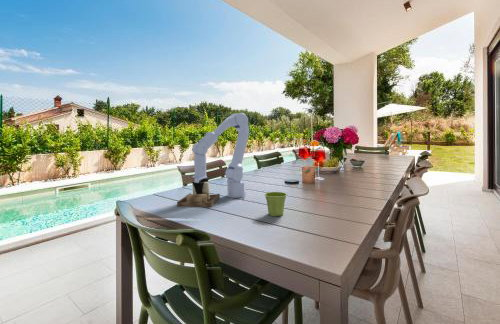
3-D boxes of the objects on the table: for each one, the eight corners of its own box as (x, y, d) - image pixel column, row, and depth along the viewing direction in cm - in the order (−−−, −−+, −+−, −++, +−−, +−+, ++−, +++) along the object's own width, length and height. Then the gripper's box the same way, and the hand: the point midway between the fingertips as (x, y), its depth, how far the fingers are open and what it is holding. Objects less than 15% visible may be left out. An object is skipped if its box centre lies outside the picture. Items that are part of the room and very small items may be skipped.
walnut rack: (219, 199, 145) (219, 193, 145) (211, 209, 127) (211, 202, 127) (189, 198, 147) (189, 193, 147) (177, 208, 129) (177, 202, 129)
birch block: (209, 199, 140) (209, 182, 139) (208, 200, 139) (208, 182, 138) (194, 199, 141) (193, 181, 140) (193, 200, 140) (192, 182, 139)
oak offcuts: (206, 203, 133) (206, 194, 133) (205, 205, 130) (205, 195, 130) (188, 203, 134) (188, 194, 134) (186, 205, 131) (186, 195, 131)
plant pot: (260, 215, 117) (260, 195, 116) (270, 210, 125) (269, 190, 124) (282, 219, 112) (282, 197, 111) (290, 212, 121) (290, 192, 120)
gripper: (196, 165, 146) (197, 191, 147) (187, 169, 131) (188, 197, 133) (210, 165, 145) (210, 191, 147) (202, 169, 131) (203, 198, 132)
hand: (201, 194), depth 140 cm, fingers open, 6 cm apart
